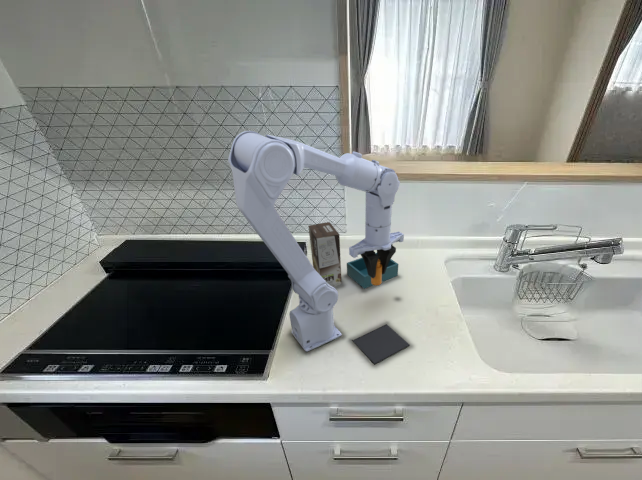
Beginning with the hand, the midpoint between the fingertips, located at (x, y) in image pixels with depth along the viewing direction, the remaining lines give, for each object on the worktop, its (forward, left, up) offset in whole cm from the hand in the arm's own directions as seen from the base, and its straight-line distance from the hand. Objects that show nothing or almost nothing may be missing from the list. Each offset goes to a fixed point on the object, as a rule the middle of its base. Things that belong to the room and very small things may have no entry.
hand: (376, 274), depth 79 cm
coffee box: (-4, +18, -10) cm, 21 cm away
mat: (-7, -12, -10) cm, 17 cm away
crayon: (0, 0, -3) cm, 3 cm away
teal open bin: (+8, +12, -10) cm, 17 cm away
